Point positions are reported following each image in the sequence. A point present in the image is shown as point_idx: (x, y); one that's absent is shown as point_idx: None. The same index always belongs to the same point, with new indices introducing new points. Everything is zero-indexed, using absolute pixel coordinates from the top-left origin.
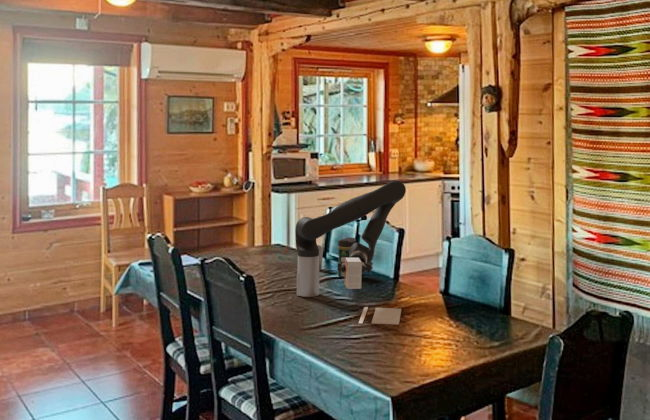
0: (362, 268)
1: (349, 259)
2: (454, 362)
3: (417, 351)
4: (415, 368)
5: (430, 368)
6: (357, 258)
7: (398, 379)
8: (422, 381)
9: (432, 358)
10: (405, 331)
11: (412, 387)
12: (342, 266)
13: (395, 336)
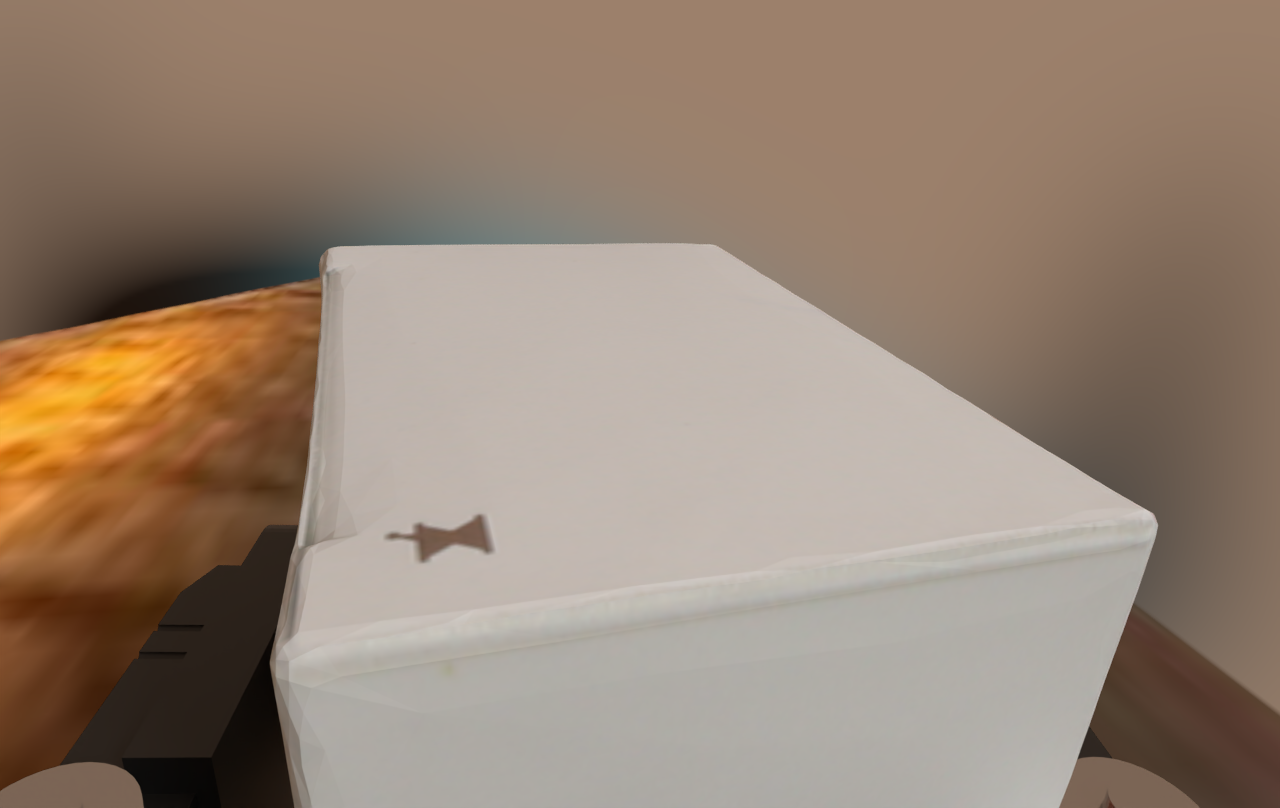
0: (290, 528)
1: (753, 326)
2: (31, 362)
3: (147, 423)
4: (245, 335)
5: (182, 335)
6: (431, 455)
7: None
8: (261, 294)
9: (114, 381)
10: (20, 666)
11: (308, 280)
12: None
13: (178, 571)
